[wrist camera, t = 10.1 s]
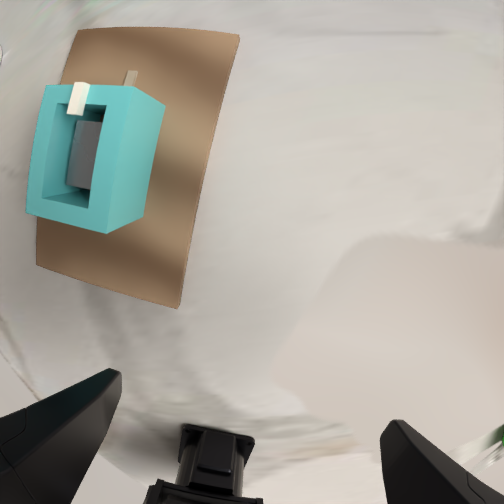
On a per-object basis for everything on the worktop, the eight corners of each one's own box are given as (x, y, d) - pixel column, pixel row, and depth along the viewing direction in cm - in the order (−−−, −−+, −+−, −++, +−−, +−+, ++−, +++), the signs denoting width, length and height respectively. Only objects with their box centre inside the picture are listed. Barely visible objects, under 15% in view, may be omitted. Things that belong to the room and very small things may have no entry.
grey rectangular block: (121, 185, 18) (94, 190, 14) (95, 180, 18) (66, 184, 14) (132, 129, 17) (107, 122, 13) (106, 126, 17) (77, 120, 13)
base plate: (179, 304, 21) (175, 311, 20) (42, 261, 20) (34, 266, 19) (240, 39, 16) (238, 32, 15) (83, 33, 16) (76, 28, 14)
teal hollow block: (143, 217, 18) (100, 236, 13) (71, 201, 18) (18, 214, 13) (165, 105, 16) (129, 83, 11) (90, 99, 16) (39, 83, 11)
